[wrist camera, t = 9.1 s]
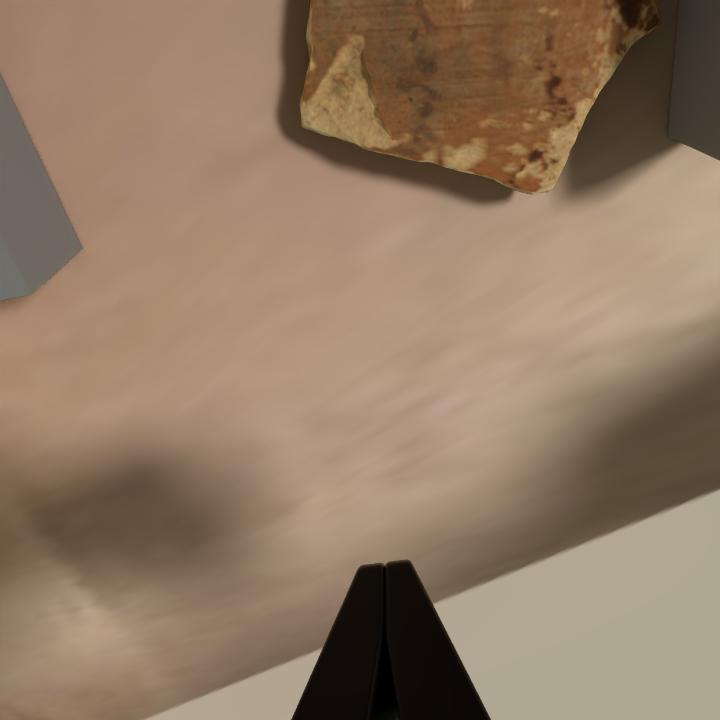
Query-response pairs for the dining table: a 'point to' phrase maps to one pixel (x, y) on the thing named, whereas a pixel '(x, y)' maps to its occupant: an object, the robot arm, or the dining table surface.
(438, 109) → the shard
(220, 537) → the dining table surface
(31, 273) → the box
